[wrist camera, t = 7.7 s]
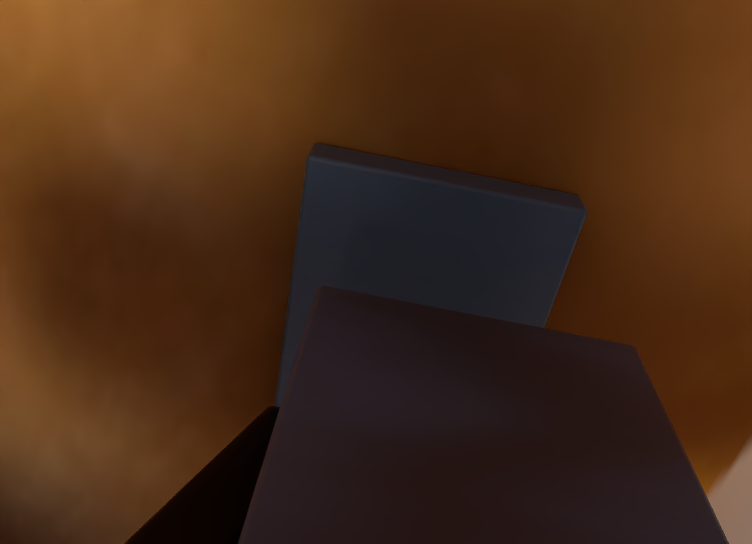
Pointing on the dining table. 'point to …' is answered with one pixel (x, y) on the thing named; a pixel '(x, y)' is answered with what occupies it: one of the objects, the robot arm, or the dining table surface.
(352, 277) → the blue board
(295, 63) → the dining table surface
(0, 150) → the dining table surface
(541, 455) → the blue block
